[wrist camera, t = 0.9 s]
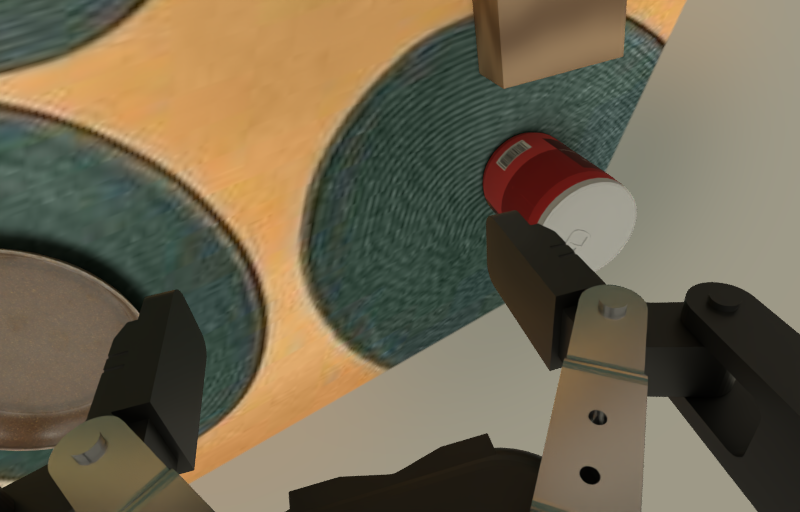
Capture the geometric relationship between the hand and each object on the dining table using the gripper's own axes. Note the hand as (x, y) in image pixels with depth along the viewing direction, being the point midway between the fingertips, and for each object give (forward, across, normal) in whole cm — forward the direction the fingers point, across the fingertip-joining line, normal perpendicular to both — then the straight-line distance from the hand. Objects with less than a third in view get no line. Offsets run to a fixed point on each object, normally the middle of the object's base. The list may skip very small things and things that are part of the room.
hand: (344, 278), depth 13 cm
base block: (+27, -18, -1) cm, 33 cm away
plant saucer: (+27, +26, +18) cm, 42 cm away
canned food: (+27, -17, +13) cm, 34 cm away
